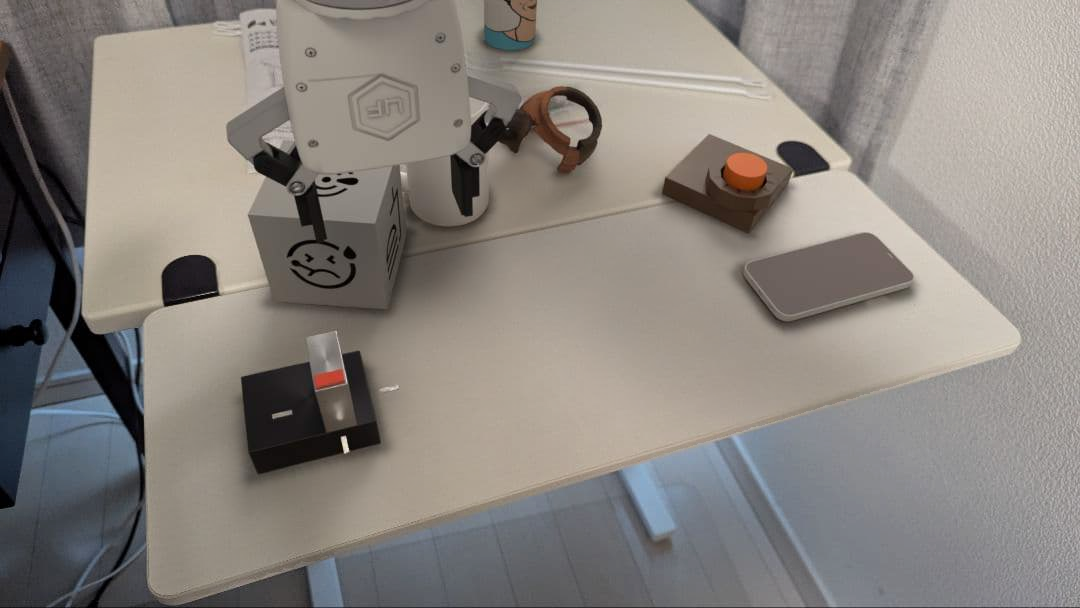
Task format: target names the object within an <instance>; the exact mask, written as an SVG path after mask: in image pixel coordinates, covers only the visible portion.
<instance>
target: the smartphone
mask: <svg viewBox="0 0 1080 608" xmlns="http://www.w3.org/2000/svg"><path fill="white" fill-rule="evenodd" d="M742 274H743V277H744V279H745V280H746V281H747V282H748V283H749V285H750V286H751V287H752V289H753V290H754V291H755V292H756V294H757V295H758V296H759V297H760V299H761V300H762V301H763V303H764V304H765V305H766V307H767V309H769V311H770V312H771V313H772V314H773V316H774V317H775V318H776V319H778V320H780V321H782V322H793V321H797V320H800V319H804V318H808V317H811V316H814V315H818V314H821V313H825V312H828V311H831V310H835V309H838V308H842V307H846V306H849V305H852V304H855V303H859V302H864V301H866V300H870V299H873V298H877V297H880V296H883V295H887V294H891V293H894V292H897V291H902V290H904V289H908V288H910V287H911V286H912V283H914V280H915V274H914V272H913V271H912V270H911V269H910V268H909V267H908V266H907V265H906V264H905V263H904V262H903V261H902V260H901V258H899V257H898V256H897V255H896V254H895V253H894V252H893V251H892V250H891V249H890V248H889V247H888V246H887V245H886V244H885V243H884V242H883V241H882V240H881V238H879V237H878V236H877V235H876V234H875V233H872V232H869V231H862V232H858V233H854V234H853V233H852V234H850V235H846V236H842V237H837V238H834V239H831V240H827V241H822V242H819V243H815V244H811V245H807V246H803V247H799V248H795V249H791V250H787V251H783V252H780V253H776V254H772V255H769V256H765V257H761V258H756V259H752V260H750V261H748V262H746V263H745V265H744V268H743V271H742Z"/></svg>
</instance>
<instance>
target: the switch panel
mask: <svg viewBox="0 0 1080 608" xmlns="http://www.w3.org/2000/svg"><path fill="white" fill-rule="evenodd" d="M342 357H343V362H344V366H345V371H346V375H347V380H348V384H349V389H350V394H351V398H352V403H353V408H354V412H355V417H356V421H357V425H356V426H352V427H348V428H344V429H340V430H336V431H332V432H326V429H325V426H324V422H323V419H322V415H321V412H320V408H319V405H318V401H317V397H316V394H315V390H314V384H313V379H312V373H311V367H310V362H309V361H306V362H300V363H296V364H292V365H291V364H290V365H287V366H283V367H278V368H274V369H270V370H265V371H260V372H256V373H252V374H247V375H242V376H240V383H241V393H242V402H243V403H242V404H243V405H242V406H243V413H244V424H245V432H246V444H247V453H248V455H249V458H250V460H251V463H252V465H253V468H254V469H255V471H256V473H257V475H261V474H266V473H269V472H273V471H277V470H281V469H285V468H289V467H293V466H297V465H301V464H304V463H308V462H313V461H317V460H321V459H324V458H328V457H333V456H336V455H340V454H344V455H348V454H350V452H352V451H355V450H360V449H363V448H368V447H372V446H375V445H379V444H381V442H382V441H381V436H380V429H379V426H378V422H377V421H378V420H377V416H376V413H375V408H374V403H373V399H372V395H371V391H370V386H369V383H368V378H367V374H366V369H365V366H364V361H363V356H362V353H361V350H355V351H351V352H346V353H345V352H344V353H342ZM398 390H400V389H399V385H398V384H395V385H390V386H387V387H383V388H379V389H378V391H379V394H380V395H382V394H386V393H389V392H395V391H398Z"/></svg>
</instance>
